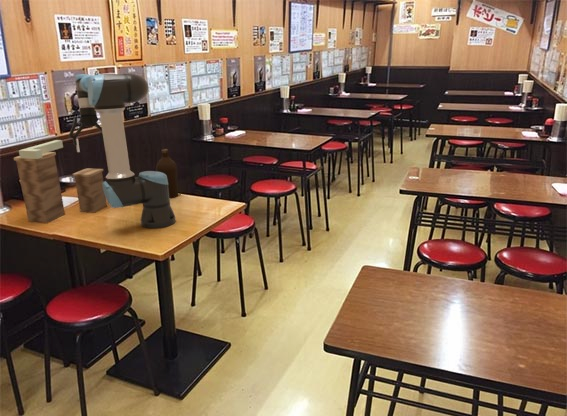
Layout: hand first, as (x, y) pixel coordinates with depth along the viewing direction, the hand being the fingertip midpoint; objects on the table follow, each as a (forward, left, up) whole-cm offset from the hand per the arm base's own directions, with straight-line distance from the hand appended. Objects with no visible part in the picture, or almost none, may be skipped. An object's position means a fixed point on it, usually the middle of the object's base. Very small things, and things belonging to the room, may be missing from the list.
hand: (93, 151), depth 228 cm
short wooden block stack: (-10, +5, -26) cm, 29 cm away
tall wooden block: (-11, +26, -26) cm, 39 cm away
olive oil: (-11, -33, -27) cm, 44 cm away
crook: (-9, +21, +4) cm, 23 cm away
